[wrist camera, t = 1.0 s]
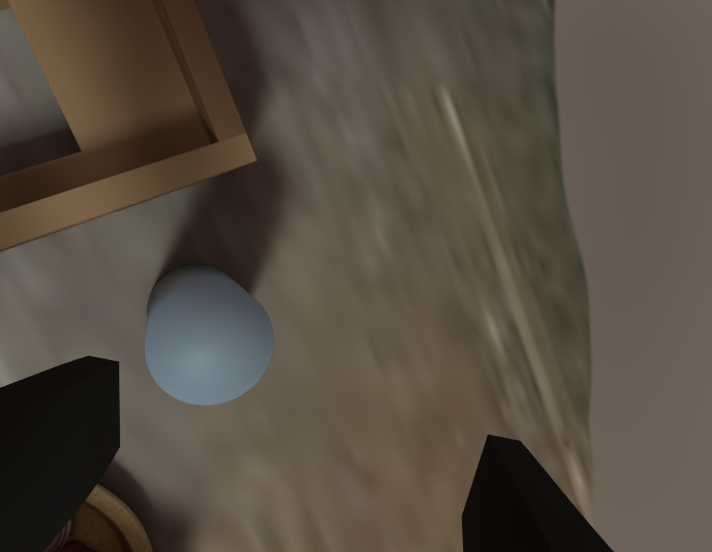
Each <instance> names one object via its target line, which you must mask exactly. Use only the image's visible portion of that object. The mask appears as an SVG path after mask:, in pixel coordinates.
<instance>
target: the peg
mask: <svg viewBox="0 0 712 552" xmlns="http://www.w3.org/2000/svg"><path fill="white" fill-rule="evenodd" d="M273 347H274V333H273V328H272V324H271V321H270V319H269V317H268V315H267V313H266V311H265V310H264V308H263V307H262V306H261V305H260V303H259V302H258V301H257V300H256V299H255V298H253V297H252V296H251V295H250V294H249V293H248V292H247V291H246V290H244V289H243V288H242V287H241V286H240V285H239V284H238V283H237V282H235V281H234V280H233V279H232V278H231V277H230V276H229V275H227V274H226V273H225V272H223V271H222V270H220V269H218V268H216V267H213V266H210V265H204V264H189V265H184V266H181V267H178V268H176V269H174V270H172V271H170V272H168V273H167V274H166V275H164V276H163V277H162V278H161V279H160V280H159V281H158V282H157V284H156V285H155V286H154V288H153V290H152V292H151V294H150V297H149V300H148V305H147V322H146V340H145V356H146V362H147V366H148V369H149V371H150V373H151V375H152V377H153V378H154V380H155V382H156V383H157V384H158V385H159V386H160V387H161V388H162V389H163V390H164V391H165V392H166V393H168V394H169V395H171V396H172V397H174V398H176V399H178V400H180V401H183V402H186V403H189V404H195V405H215V404H220V403H224V402H227V401H230V400H232V399H235V398H237V397H239V396H240V395H242V394H244V393H245V392H247V391H248V390H249V389H251V388H252V387H253V386H254V385H255V384H256V383H257V382H258V380H259V379H260V378H261V377H262V375H263V374H264V372H265V371H266V369H267V367H268V365H269V363H270V360H271V357H272V353H273Z"/></svg>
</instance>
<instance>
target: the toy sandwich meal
mask: <svg viewBox="0 0 712 552" xmlns="http://www.w3.org/2000/svg"><path fill="white" fill-rule="evenodd" d="M44 552H153V550H152V547H151V543H150V541H149V538H148V536H147V534H146V532H145V530H144V528H143V526H142V524H141V523H140V521H139V519H138V518H137V517H136V515H135V514H134V513H133V512H132V511H131V509H130V508H129V507H128V506H127V505H126V504H125V503H124V502H123V501H122V500H120V499H119V498H118V497H117V496H115V495H114V494H113V493H111V492H110V491H108V490H107V489H105V488H104V487H102V486H100V485H98V484H96V486H95V488H94V489H93V491H92V492H91V494H90V495H89V496H88V498H87V499H86V500H85V502H84V503H83V504H82V505H81V507H80V508H79V509H78V510H77V512H76V513H75V514H74V515H73V517H72V518H71V519H70V520H69V522H68V523H67V524H66V525H65V526H64V528H63V529H62V530H61V531H60V533H59V534H58V535H57V536H56V538H55V539H54V540H53V541H52V542H51V544H50V545H49V546H48V547H47V549H46V550H45V551H44Z"/></svg>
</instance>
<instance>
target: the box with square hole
mask: <svg viewBox="0 0 712 552" xmlns="http://www.w3.org/2000/svg"><path fill="white" fill-rule="evenodd" d="M10 7H11V8H12V10H13V12H14V14H15V16H16V18H17V20H18V22H19V24H20V26H21V28H22V30H23V32H24V34H25V36H26V38H27V40H28V43H29V45H30V47H31V49H32V51H33V53H34V55H35V57H36V59H37V61H38V63H39V65H40V67H41V69H42V71H43V73H44V75H45V77H46V79H47V81H48V83H49V85H50V88H51V90H52V92H53V94H54V96H55V98H56V100H57V102H58V104H59V106H60V108H61V110H62V112H63V114H64V116H65V118H66V120H67V122H68V124H69V126H70V128H71V130H72V132H73V135H74V137H75V139H76V141H77V143H78V145H79V147H80V149H81V152H78V153H75V154H71V155H68V156H65V157H61V158H58V159H55V160H51V161H48V162H45V163H42V164H38V165H35V166H32V167H28V168H25V169H22V170H18V171H15V172H12V173H8V174H5V175H2V176H0V252H1V251H4V250H7V249H10V248H13V247H16V246H18V245H21V244H24V243H27V242H30V241H33V240H36V239H39V238H41V237H44V236H47V235H50V234H53V233H56V232H59V231H61V230H64V229H67V228H70V227H73V226H76V225H79V224H82V223H84V222H87V221H90V220H93V219H96V218H99V217H102V216H105V215H107V214H110V213H113V212H116V211H119V210H122V209H125V208H128V207H130V206H133V205H136V204H139V203H142V202H145V201H148V200H151V199H153V198H156V197H159V196H162V195H165V194H168V193H171V192H173V191H176V190H179V189H182V188H185V187H188V186H191V185H194V184H196V183H199V182H202V181H205V180H208V179H211V178H214V177H217V176H219V175H222V174H225V173H228V172H231V171H234V170H237V169H239V168H242V167H244V166H246V165H248V164H250V163H253V162H255V161H257V159H256V157H255V154H254V151H253V149H252V146H251V144H250V141H249V139H248V136H247V133H246V131H245V128H244V126H243V123H242V121H241V118H240V115H239V113H238V110H237V108H236V105H235V103H234V100H233V97H232V95H231V92H230V90H229V87H228V85H227V82H226V79H225V77H224V74H223V72H222V69H221V67H220V64H219V61H218V59H217V56H216V54H215V51H214V49H213V46H212V43H211V41H210V38H209V36H208V33H207V30H206V28H205V25H204V23H203V20H202V18H201V15H200V12H199V10H198V7H197V5H196V2H195V0H0V9H5V8H10Z"/></svg>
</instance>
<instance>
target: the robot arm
mask: <svg viewBox="0 0 712 552" xmlns="http://www.w3.org/2000/svg"><path fill="white" fill-rule="evenodd" d="M119 448H120V402H119V362H118V361H113V360H108V359H103V358H98V357H93V356H86V357H83V358H80V359H76V360H74V361H71V362H68V363H65V364H62V365H59V366H56V367H54V368H51V369H48V370H46V371H43V372H40V373H38V374H35V375H33V376H30V377H27V378H25V379H22V380H20V381H17V382H14V383H12V384H9V385H6V386H4V387H1V388H0V552H44V551H45V550H46V549H47V547H48V546H49V545H50V544H51V542H52V541H53V540H54V539H55V538H56V536H57V535H58V534H59V533H60V531H61V530H62V529H63V528H64V526H65V525H66V524H67V523H68V522H69V520H70V519H71V518H72V517H73V515H74V514H75V513H76V512H77V510H78V509H79V508H80V507H81V505H82V504H83V503H84V502H85V500H86V499H87V498H88V496H89V495H90V494H91V492H92V491H93V489H94V488H95V486H96V484H97V483H98V481H99V480H100V478H101V477H102V475H103V474H104V472H105V471H106V469H107V467H108V466H109V464H110V462H111V461H112V459H113V457H114V456H115V454H116V453H117V451H118V449H119ZM462 533H463V552H613V550H612V549H611V548H610V547H609V546H608V545H607V544H606V542H605V541H604V540H603V539H602V538H601V537H600V536H599V534H598V533H597V532H596V531H595V530H594V529H593V527H592V526H591V525H590V524H589V523H588V522H587V520H586V519H585V518H584V517H583V516H582V515H581V513H580V512H579V511H578V510H577V509H576V507H575V506H574V505H573V504H572V503H571V501H570V500H569V499H568V498H567V497H566V495H565V494H564V493H563V492H562V490H561V489H560V488H559V487H558V486H557V484H556V483H555V482H554V481H553V479H552V478H551V477H550V476H549V475H548V473H547V472H546V471H545V470H544V468H543V467H542V466H541V465H540V464H539V462H538V461H537V460H536V459H535V457H534V456H533V455H532V454H531V453H530V452H529V450H528V449H527V448H526V447H525V446H524V445H523V443H522V442H521V441H518V440H513V439H508V438H503V437H498V436H493V435H488V436H487V439H486V442H485V445H484V448H483V452H482V455H481V458H480V461H479V464H478V467H477V470H476V473H475V477H474V480H473V483H472V486H471V489H470V492H469V495H468V499H467V502H466V505H465V508H464V511H463V514H462Z"/></svg>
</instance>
